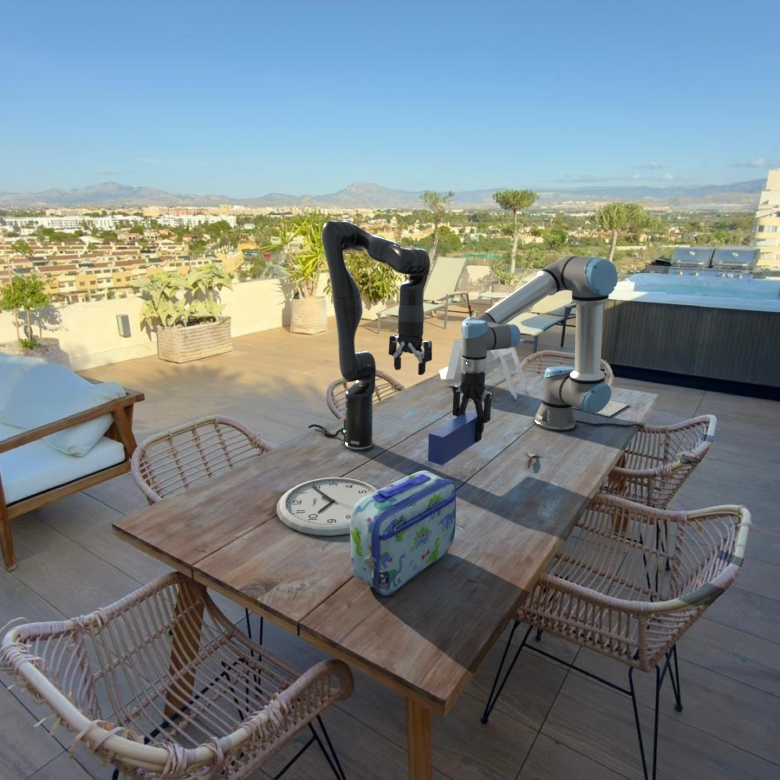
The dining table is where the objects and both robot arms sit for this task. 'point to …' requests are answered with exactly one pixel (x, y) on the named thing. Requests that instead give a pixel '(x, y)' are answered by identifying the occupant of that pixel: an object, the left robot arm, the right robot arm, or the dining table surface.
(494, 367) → the white plastic object
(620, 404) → the invitation card
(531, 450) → the fork
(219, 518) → the dining table surface
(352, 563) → the lunch box
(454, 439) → the bar
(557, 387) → the right robot arm
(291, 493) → the wall clock
